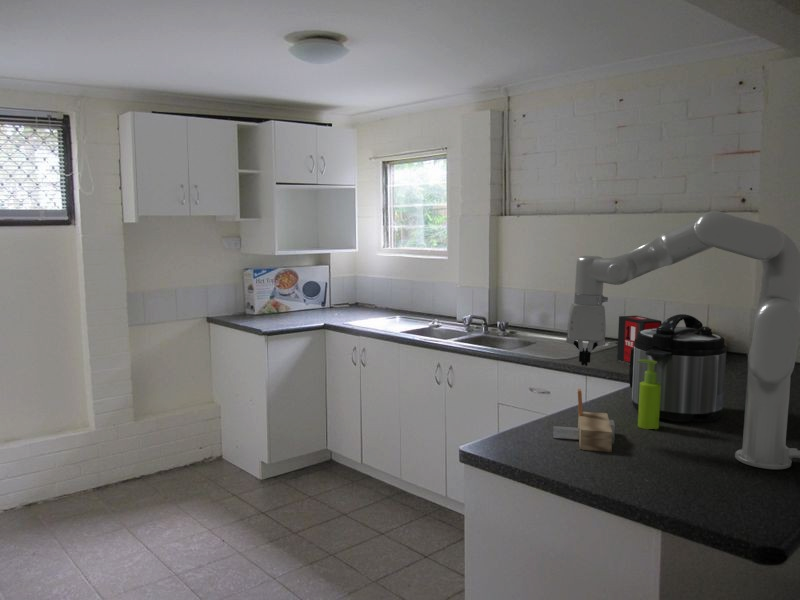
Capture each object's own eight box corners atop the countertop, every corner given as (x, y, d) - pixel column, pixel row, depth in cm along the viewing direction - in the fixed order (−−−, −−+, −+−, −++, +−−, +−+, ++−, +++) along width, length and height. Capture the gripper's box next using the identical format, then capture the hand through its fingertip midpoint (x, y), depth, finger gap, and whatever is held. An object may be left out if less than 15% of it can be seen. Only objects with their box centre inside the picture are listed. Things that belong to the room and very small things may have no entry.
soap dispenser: (638, 421, 203) (641, 357, 201) (661, 426, 199) (664, 360, 196) (631, 426, 199) (634, 360, 196) (654, 431, 194) (658, 363, 192)
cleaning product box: (659, 368, 279) (661, 320, 277) (641, 369, 277) (643, 321, 275) (634, 360, 295) (636, 315, 293) (617, 361, 292) (619, 316, 290)
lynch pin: (612, 437, 187) (613, 419, 187) (614, 443, 182) (614, 425, 182) (553, 433, 191) (553, 415, 190) (553, 439, 186) (553, 421, 185)
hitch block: (606, 431, 194) (607, 413, 193) (611, 451, 176) (612, 432, 176) (577, 429, 195) (578, 411, 195) (580, 449, 178) (580, 429, 177)
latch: (581, 388, 192) (577, 388, 193) (581, 391, 190) (577, 391, 190) (582, 412, 193) (578, 412, 193) (582, 415, 190) (579, 415, 191)
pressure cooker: (691, 399, 230) (696, 308, 226) (746, 423, 202) (753, 320, 199) (610, 402, 225) (614, 309, 221) (655, 428, 197) (660, 321, 194)
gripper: (615, 300, 188) (610, 363, 190) (560, 297, 191) (557, 360, 194) (617, 303, 181) (613, 369, 183) (560, 300, 184) (557, 365, 186)
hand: (584, 364), depth 188 cm, fingers closed
